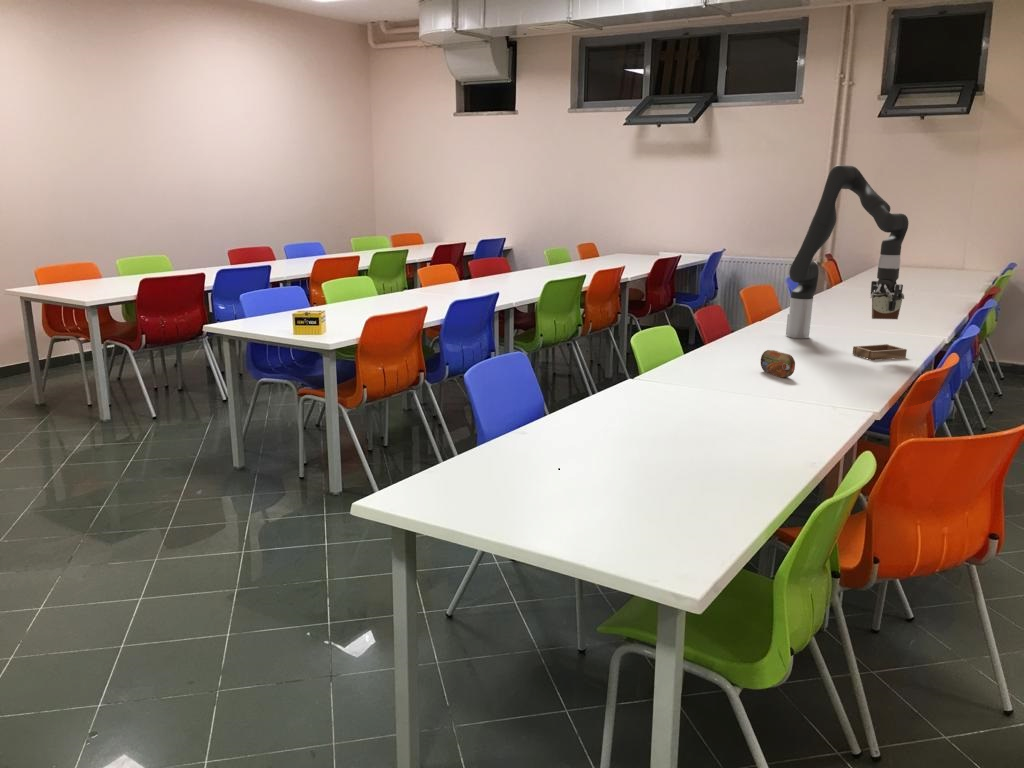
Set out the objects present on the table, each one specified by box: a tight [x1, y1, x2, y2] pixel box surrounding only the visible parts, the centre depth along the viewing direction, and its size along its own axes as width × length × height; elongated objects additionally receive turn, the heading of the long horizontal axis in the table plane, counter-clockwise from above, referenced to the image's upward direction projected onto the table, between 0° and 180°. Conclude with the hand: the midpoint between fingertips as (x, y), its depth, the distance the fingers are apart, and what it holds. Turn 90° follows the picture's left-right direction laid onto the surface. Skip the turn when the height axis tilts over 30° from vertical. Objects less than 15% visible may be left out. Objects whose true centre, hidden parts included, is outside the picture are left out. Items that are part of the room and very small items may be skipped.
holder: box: [852, 343, 908, 361], centre depth 312 cm, size 10×16×3 cm, turn 108°
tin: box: [760, 349, 796, 378], centre depth 280 cm, size 15×3×8 cm, turn 23°
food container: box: [869, 291, 905, 320], centre depth 308 cm, size 12×6×10 cm, turn 85°
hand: (884, 309), depth 308 cm, fingers closed on food container, 7 cm apart
